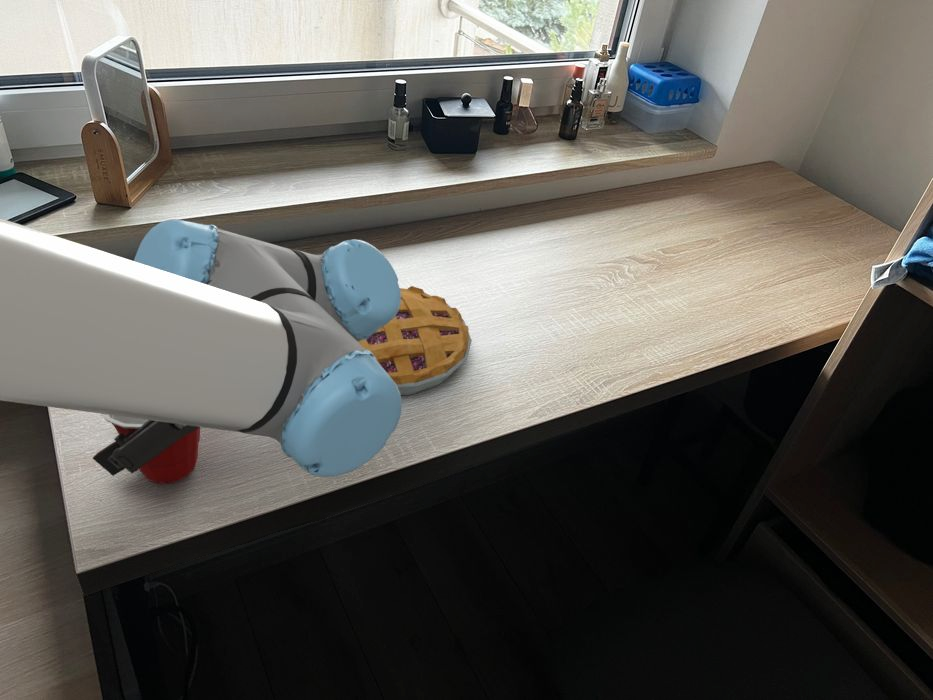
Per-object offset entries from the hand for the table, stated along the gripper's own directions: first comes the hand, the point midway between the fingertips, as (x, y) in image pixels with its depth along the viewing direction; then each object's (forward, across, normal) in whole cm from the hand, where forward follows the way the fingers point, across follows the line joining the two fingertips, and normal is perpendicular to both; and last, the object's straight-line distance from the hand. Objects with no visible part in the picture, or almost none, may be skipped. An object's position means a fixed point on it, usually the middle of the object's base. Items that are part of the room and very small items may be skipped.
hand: (136, 430), depth 77 cm
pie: (-10, +28, -16) cm, 34 cm away
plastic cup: (+1, 0, -5) cm, 5 cm away
